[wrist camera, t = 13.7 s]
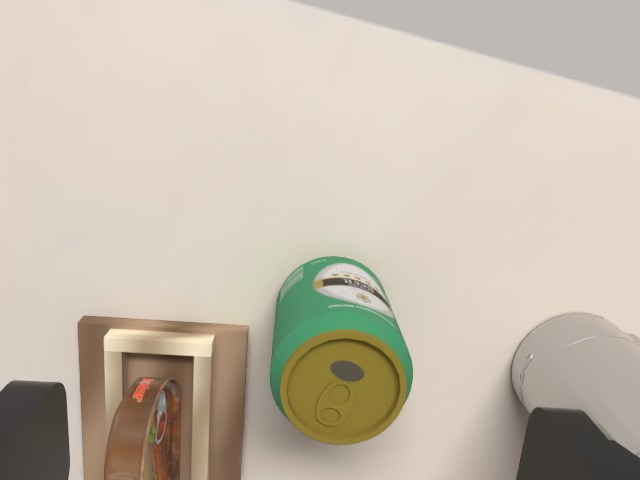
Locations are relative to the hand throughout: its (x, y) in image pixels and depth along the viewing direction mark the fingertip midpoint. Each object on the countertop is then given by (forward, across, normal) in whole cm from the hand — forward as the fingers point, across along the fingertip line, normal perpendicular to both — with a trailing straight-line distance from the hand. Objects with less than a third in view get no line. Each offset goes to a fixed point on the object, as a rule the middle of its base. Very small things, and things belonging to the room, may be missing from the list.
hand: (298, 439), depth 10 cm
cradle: (+30, +9, +22) cm, 38 cm away
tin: (+29, +9, +22) cm, 37 cm away
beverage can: (+30, -3, +10) cm, 32 cm away
